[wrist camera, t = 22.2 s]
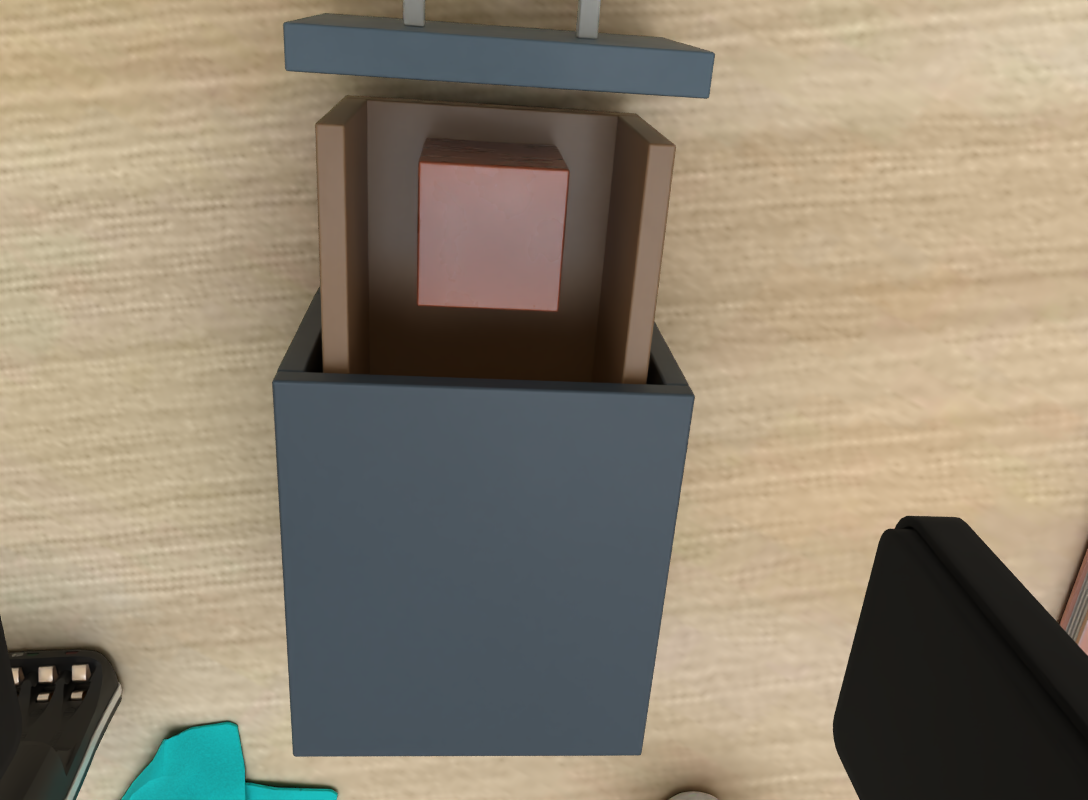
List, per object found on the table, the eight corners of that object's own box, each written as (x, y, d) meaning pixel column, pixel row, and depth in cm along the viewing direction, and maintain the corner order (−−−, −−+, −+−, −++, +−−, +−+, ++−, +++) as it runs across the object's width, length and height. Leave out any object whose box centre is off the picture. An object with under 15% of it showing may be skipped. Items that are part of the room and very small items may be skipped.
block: (425, 137, 31) (417, 160, 27) (557, 145, 32) (570, 169, 27) (423, 266, 33) (416, 306, 29) (548, 272, 33) (558, 312, 29)
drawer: (318, -175, 28) (272, -223, 21) (684, -142, 29) (747, -178, 23) (333, 388, 36) (302, 480, 29) (622, 398, 37) (656, 489, 30)
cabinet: (318, 286, 35) (271, 380, 27) (644, 300, 36) (696, 395, 28) (328, 601, 41) (292, 757, 33) (608, 604, 42) (641, 756, 34)
